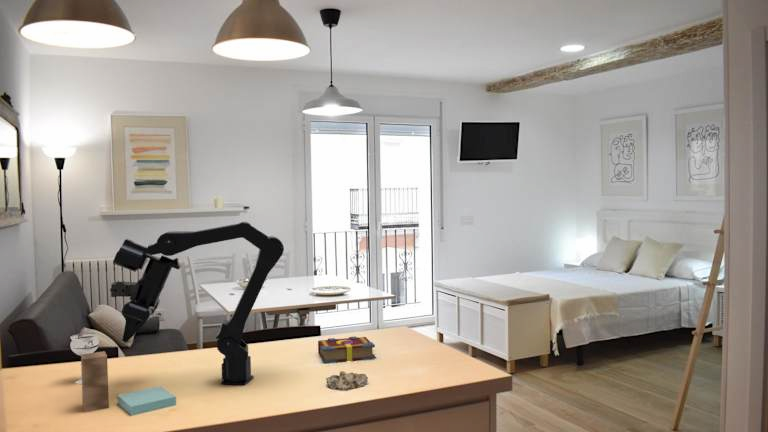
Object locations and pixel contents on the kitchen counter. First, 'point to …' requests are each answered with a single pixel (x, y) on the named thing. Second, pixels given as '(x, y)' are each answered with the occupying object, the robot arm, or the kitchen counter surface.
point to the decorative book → (345, 349)
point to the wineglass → (84, 344)
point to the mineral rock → (346, 381)
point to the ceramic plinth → (146, 400)
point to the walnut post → (94, 381)
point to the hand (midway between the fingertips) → (128, 337)
